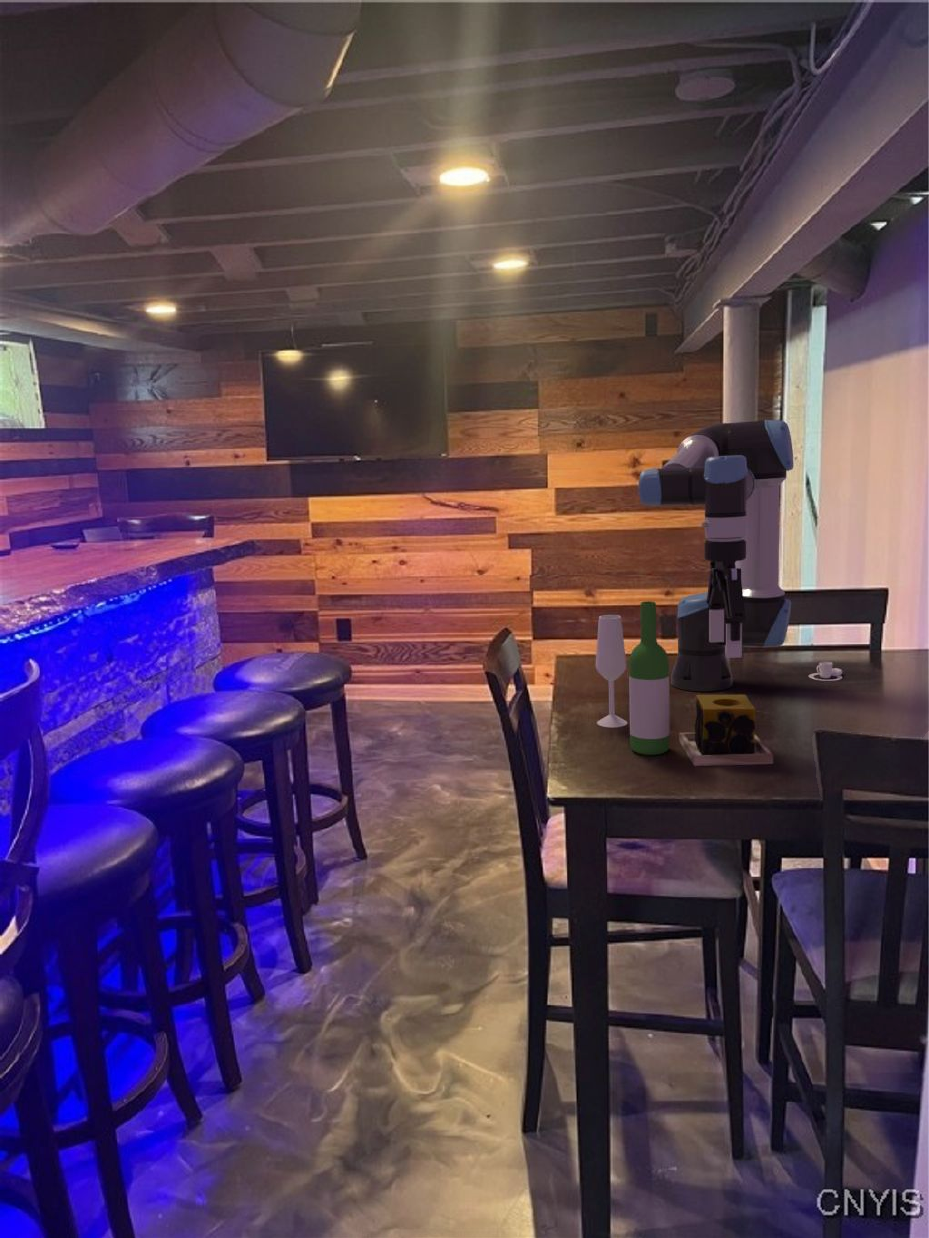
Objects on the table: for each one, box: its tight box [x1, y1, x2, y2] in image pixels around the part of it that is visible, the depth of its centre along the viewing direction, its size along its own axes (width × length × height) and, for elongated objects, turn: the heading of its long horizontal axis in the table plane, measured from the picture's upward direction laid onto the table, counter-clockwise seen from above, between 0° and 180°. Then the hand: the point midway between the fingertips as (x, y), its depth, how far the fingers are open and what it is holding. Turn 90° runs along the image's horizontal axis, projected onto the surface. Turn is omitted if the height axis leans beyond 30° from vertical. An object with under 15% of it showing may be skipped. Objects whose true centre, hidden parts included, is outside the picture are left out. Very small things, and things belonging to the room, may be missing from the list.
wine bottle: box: [628, 601, 671, 756], centre depth 167 cm, size 8×8×30 cm
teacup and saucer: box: [808, 661, 843, 682], centre depth 217 cm, size 9×8×4 cm
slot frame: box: [678, 731, 774, 767], centre depth 166 cm, size 15×15×2 cm
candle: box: [694, 694, 757, 755], centre depth 166 cm, size 10×10×10 cm
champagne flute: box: [595, 614, 628, 728], centre depth 186 cm, size 7×7×24 cm
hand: (724, 649), depth 163 cm, fingers open, 13 cm apart
